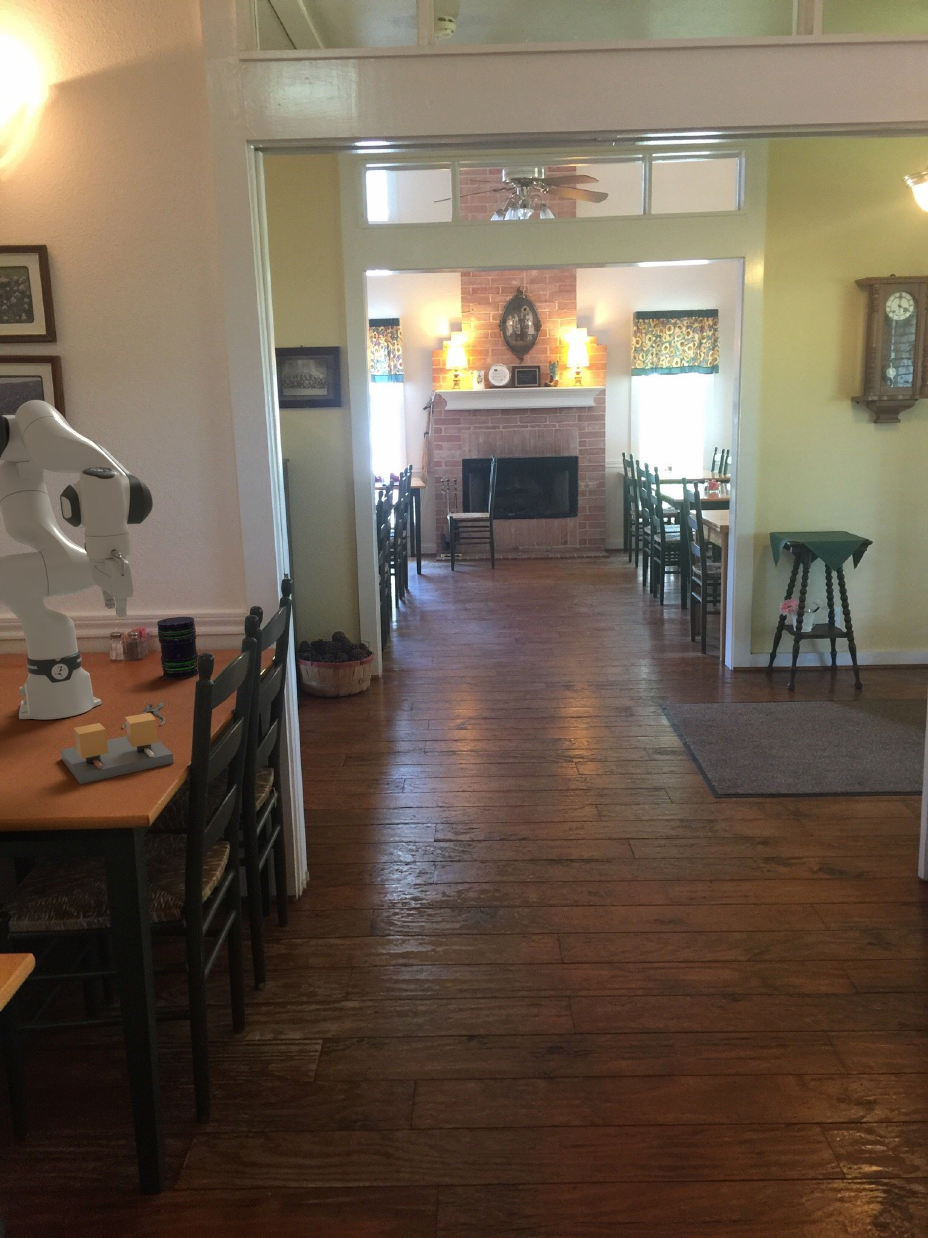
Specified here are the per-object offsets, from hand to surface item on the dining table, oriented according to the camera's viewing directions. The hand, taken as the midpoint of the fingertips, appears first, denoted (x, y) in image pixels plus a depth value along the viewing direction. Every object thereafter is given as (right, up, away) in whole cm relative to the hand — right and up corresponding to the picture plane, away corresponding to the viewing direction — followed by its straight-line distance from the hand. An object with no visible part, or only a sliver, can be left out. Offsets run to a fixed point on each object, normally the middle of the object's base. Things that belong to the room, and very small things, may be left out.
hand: (115, 612), depth 206 cm
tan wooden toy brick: (+8, -26, -7) cm, 28 cm away
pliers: (-2, -25, +24) cm, 35 cm away
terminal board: (+2, -30, -6) cm, 31 cm away
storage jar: (-4, -17, +61) cm, 64 cm away
